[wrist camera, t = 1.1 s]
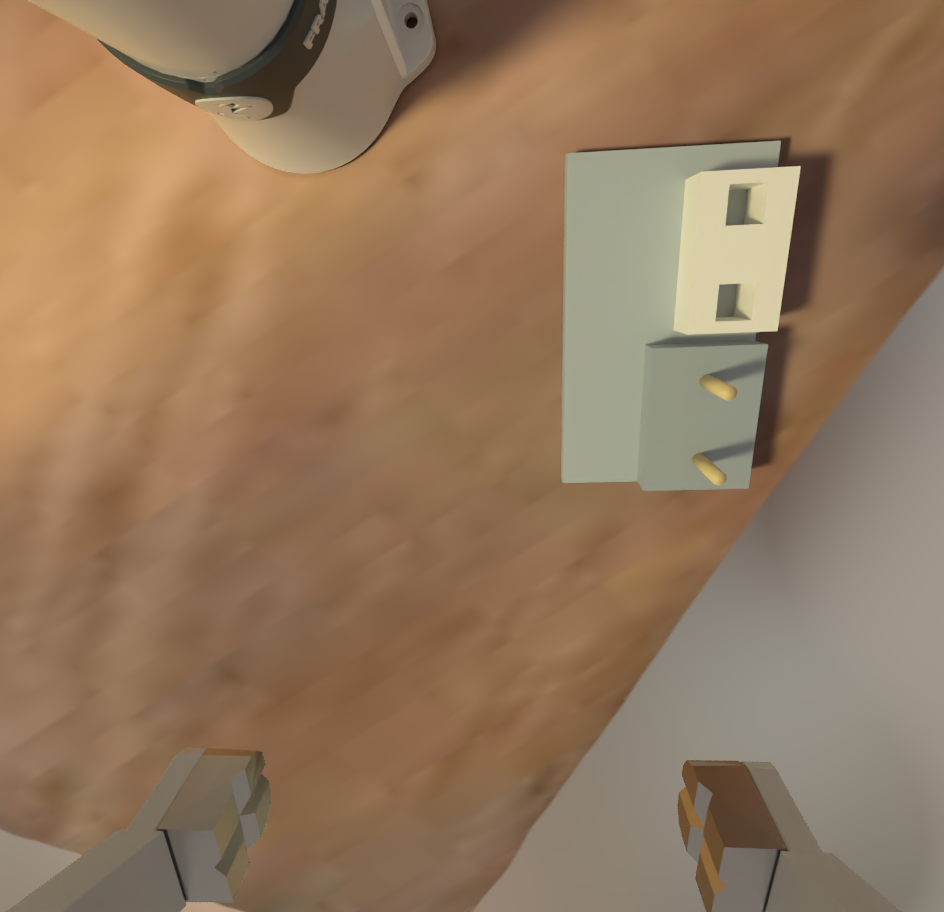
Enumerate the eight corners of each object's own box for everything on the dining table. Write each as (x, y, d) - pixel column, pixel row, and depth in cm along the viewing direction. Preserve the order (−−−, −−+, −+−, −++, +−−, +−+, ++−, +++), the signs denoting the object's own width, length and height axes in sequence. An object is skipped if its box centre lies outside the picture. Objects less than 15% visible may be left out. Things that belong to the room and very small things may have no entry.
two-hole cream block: (685, 179, 36) (701, 171, 33) (776, 174, 35) (800, 166, 33) (673, 330, 39) (687, 334, 36) (756, 326, 39) (777, 331, 36)
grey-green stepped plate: (564, 156, 37) (580, 130, 30) (772, 144, 36) (836, 114, 29) (561, 477, 45) (572, 514, 38) (731, 473, 44) (773, 510, 37)
